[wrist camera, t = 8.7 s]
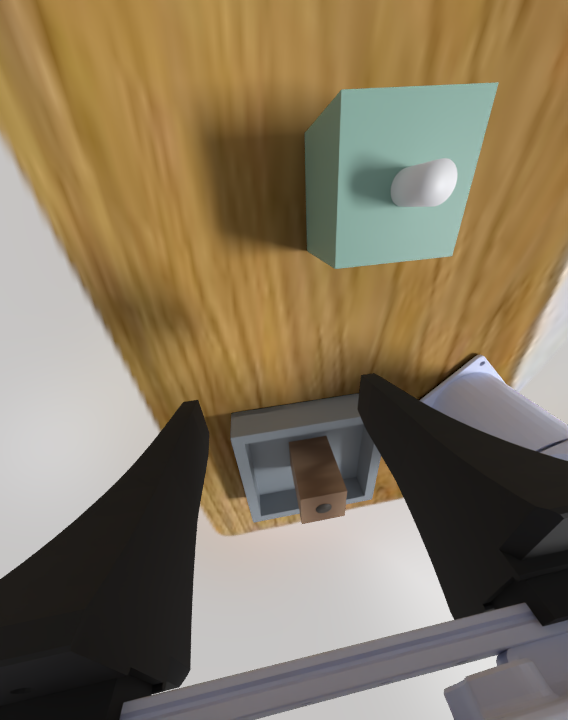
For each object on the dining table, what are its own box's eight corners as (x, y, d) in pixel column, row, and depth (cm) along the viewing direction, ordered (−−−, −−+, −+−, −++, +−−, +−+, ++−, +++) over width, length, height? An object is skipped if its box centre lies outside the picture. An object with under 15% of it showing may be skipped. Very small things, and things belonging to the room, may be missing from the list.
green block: (406, 127, 14) (556, 54, 7) (390, 242, 17) (485, 263, 11) (304, 133, 14) (365, 60, 7) (306, 250, 17) (351, 278, 10)
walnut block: (326, 435, 26) (347, 491, 21) (325, 459, 28) (344, 516, 23) (288, 442, 26) (300, 500, 20) (290, 466, 28) (302, 524, 22)
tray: (374, 390, 24) (390, 411, 22) (361, 476, 32) (371, 499, 29) (231, 413, 23) (230, 438, 21) (252, 496, 31) (253, 522, 28)
